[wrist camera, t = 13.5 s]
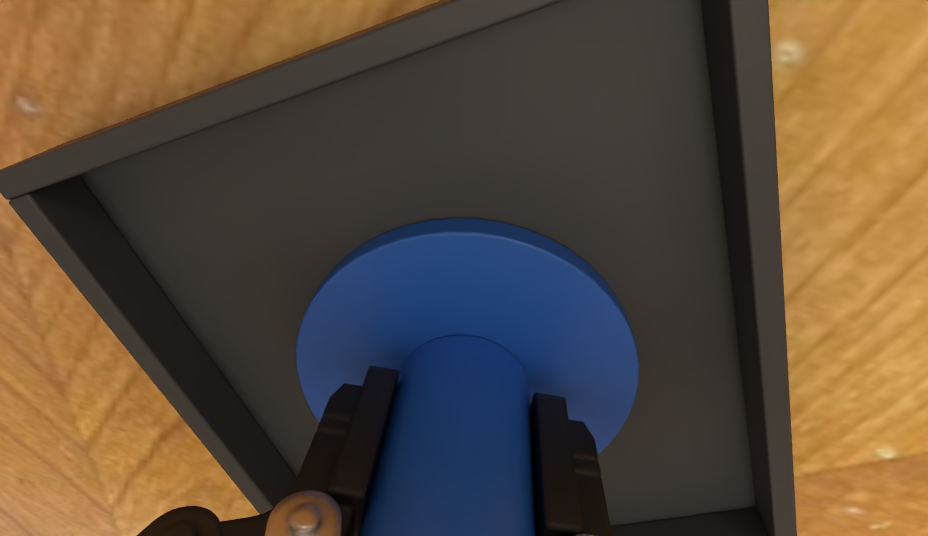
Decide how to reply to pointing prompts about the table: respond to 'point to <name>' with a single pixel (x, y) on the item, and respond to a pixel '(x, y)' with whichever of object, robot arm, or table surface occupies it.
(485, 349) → the blue lid
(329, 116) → the tray
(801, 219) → the table surface
